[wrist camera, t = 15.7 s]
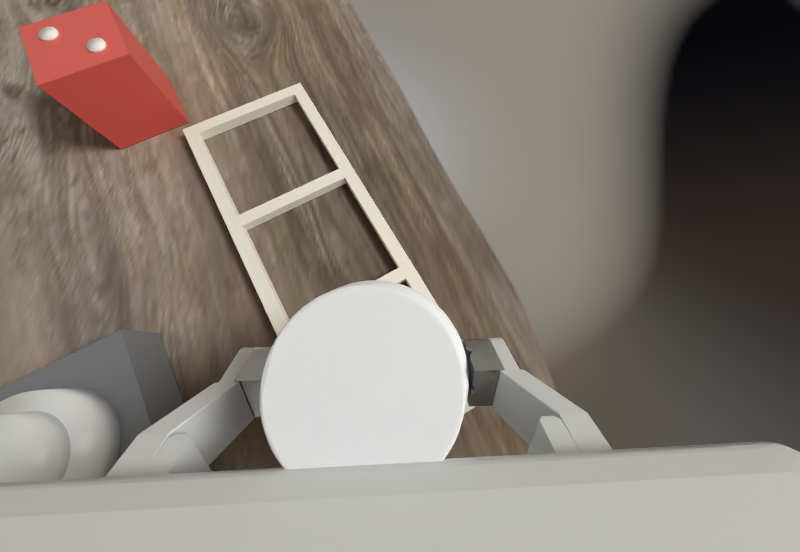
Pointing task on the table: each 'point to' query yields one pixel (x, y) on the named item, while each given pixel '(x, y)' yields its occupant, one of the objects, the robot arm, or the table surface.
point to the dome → (57, 435)
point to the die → (102, 74)
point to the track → (290, 196)
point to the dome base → (115, 379)
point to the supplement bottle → (364, 380)
